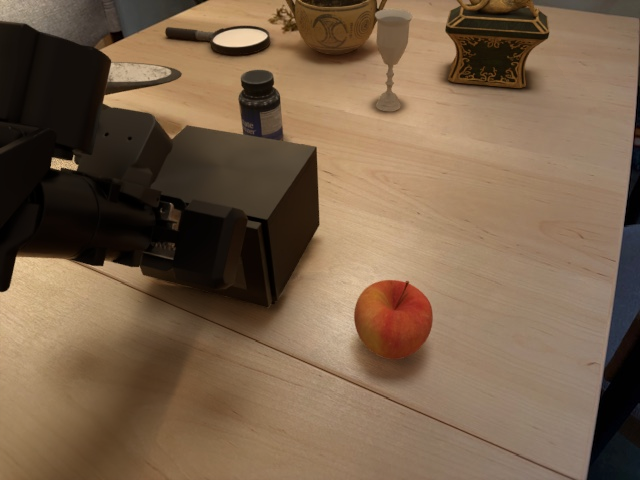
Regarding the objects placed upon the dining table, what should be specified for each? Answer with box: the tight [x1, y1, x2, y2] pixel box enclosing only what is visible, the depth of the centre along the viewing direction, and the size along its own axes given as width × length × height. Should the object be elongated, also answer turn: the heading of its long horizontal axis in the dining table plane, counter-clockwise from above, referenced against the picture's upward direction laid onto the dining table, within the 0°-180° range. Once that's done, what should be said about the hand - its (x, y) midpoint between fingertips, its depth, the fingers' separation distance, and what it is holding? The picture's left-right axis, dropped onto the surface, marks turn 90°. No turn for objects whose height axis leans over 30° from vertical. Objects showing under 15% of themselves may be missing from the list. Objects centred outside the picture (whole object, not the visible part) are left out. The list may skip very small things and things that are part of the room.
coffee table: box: [102, 61, 183, 110], centre depth 85 cm, size 25×9×9 cm, turn 82°
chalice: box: [375, 8, 414, 112], centre depth 85 cm, size 6×6×15 cm
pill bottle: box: [238, 69, 285, 141], centre depth 78 cm, size 6×6×11 cm
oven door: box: [139, 220, 272, 309], centre depth 51 cm, size 5×15×11 cm, turn 70°
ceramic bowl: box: [285, 0, 388, 56], centre depth 104 cm, size 22×17×15 cm
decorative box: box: [444, 0, 550, 89], centre depth 91 cm, size 20×10×20 cm, turn 74°
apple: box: [353, 279, 434, 360], centre depth 50 cm, size 7×7×8 cm
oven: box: [150, 124, 321, 306], centre depth 58 cm, size 13×16×13 cm
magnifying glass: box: [164, 25, 271, 56], centre depth 113 cm, size 12×24×2 cm, turn 71°
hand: (184, 233), depth 50 cm, fingers closed, pressing on oven door
